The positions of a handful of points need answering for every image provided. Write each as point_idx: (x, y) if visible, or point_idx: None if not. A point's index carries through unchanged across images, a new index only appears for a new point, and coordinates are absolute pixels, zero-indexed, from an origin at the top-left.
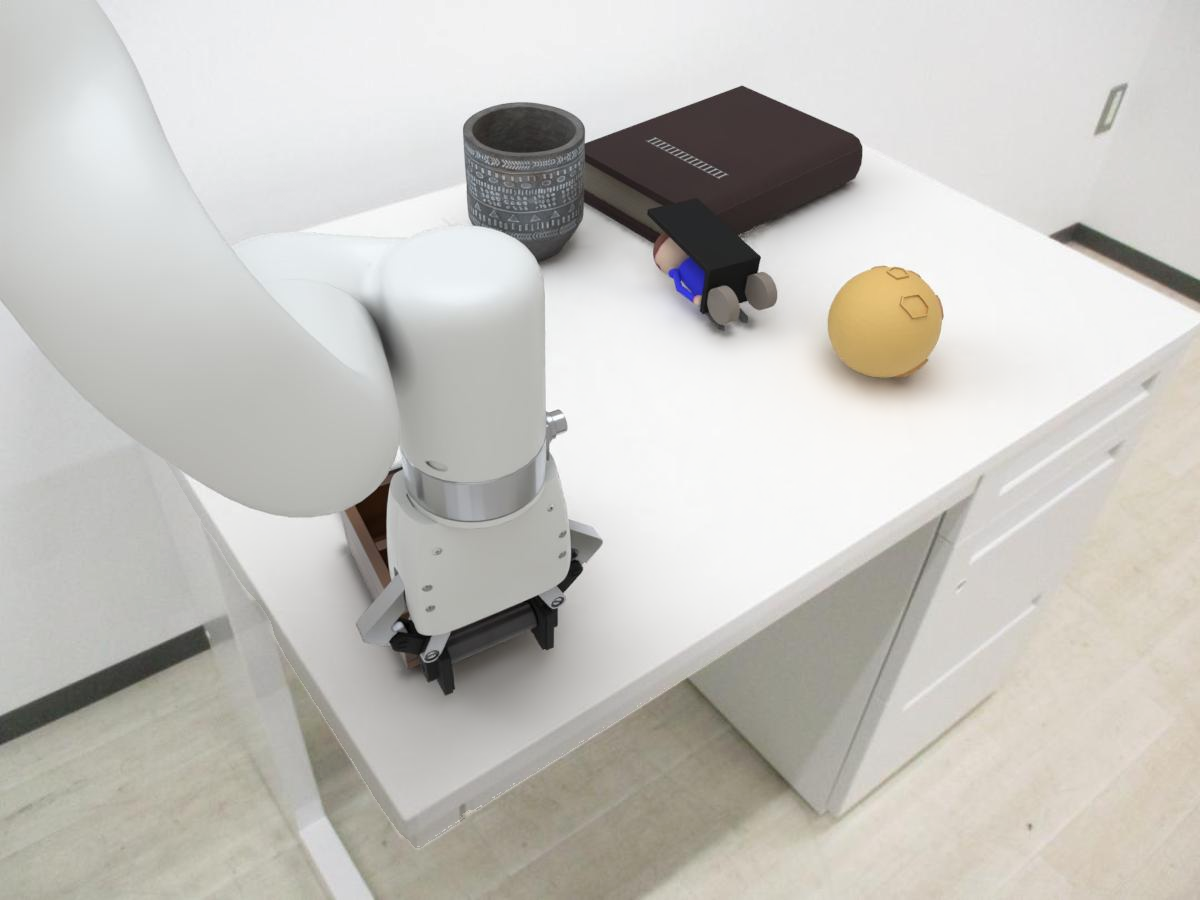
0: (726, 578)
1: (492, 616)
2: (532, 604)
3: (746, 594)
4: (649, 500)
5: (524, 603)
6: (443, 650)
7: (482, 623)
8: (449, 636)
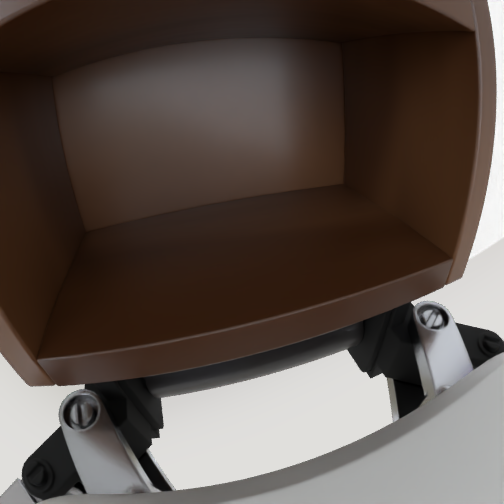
0: (487, 221)
1: (279, 348)
2: (367, 333)
3: (483, 243)
4: (500, 89)
5: (356, 325)
6: (150, 429)
7: (250, 368)
8: (163, 384)
